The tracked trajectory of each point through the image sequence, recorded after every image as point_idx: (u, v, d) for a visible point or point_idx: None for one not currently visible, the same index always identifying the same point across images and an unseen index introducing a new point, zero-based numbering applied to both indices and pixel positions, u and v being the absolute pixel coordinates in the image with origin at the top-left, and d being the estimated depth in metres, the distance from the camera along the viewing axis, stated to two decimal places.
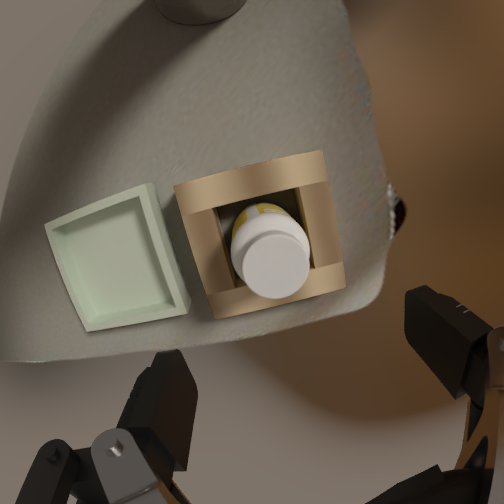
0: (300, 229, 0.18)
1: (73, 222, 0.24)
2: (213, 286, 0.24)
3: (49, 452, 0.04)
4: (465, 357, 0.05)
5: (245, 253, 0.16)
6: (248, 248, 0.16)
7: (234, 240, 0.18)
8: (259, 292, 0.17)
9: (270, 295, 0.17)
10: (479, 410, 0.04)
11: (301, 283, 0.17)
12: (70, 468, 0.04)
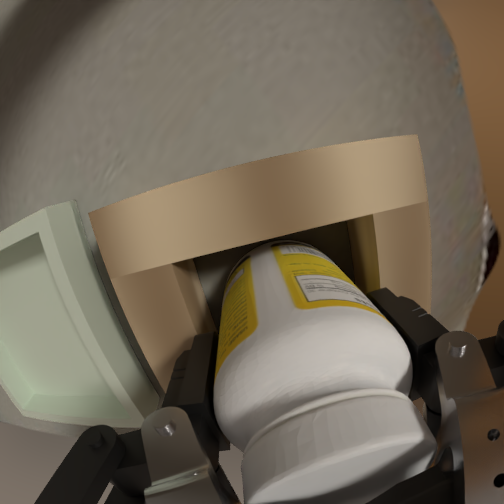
0: (405, 350, 0.06)
1: None
2: None
3: (93, 438, 0.05)
4: (416, 360, 0.06)
5: (257, 486, 0.03)
6: (268, 477, 0.03)
7: (221, 388, 0.06)
8: None
9: None
10: (437, 416, 0.05)
11: None
12: (117, 454, 0.05)
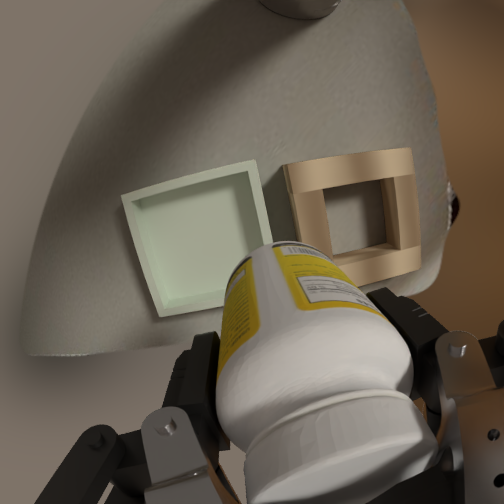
0: (406, 351, 0.06)
1: (154, 196, 0.25)
2: None
3: (93, 438, 0.05)
4: (416, 360, 0.06)
5: (260, 486, 0.03)
6: (271, 478, 0.03)
7: (223, 389, 0.06)
8: None
9: None
10: (437, 416, 0.05)
11: None
12: (117, 453, 0.05)
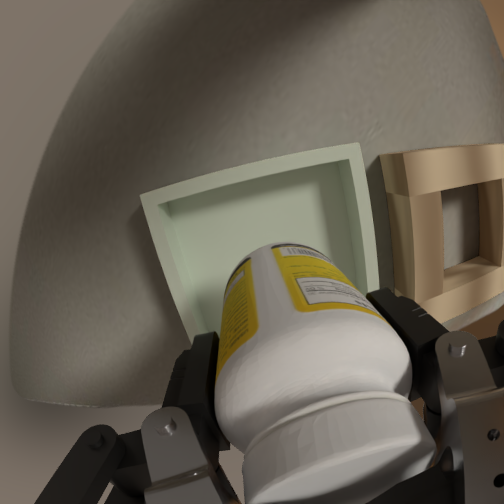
0: (405, 352, 0.06)
1: (193, 195, 0.16)
2: (424, 292, 0.16)
3: (93, 438, 0.05)
4: (415, 360, 0.06)
5: (257, 487, 0.03)
6: (268, 479, 0.03)
7: (222, 390, 0.06)
8: None
9: None
10: (437, 416, 0.05)
11: None
12: (117, 453, 0.05)
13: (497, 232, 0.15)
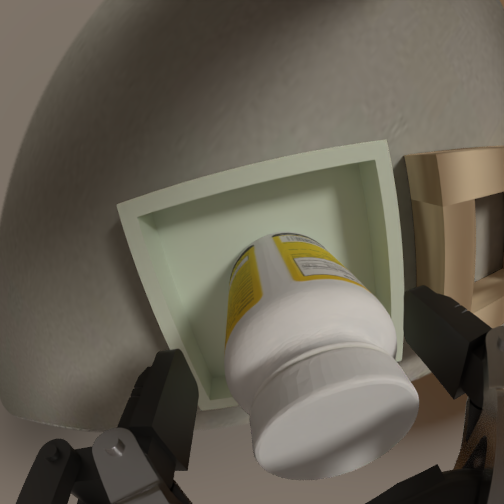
0: (388, 318, 0.07)
1: (183, 204, 0.13)
2: None
3: (50, 451, 0.04)
4: (464, 357, 0.05)
5: (264, 424, 0.05)
6: (273, 413, 0.05)
7: (232, 349, 0.07)
8: (294, 476, 0.05)
9: (317, 477, 0.05)
10: (478, 410, 0.05)
11: (388, 449, 0.05)
12: (71, 468, 0.04)
13: None
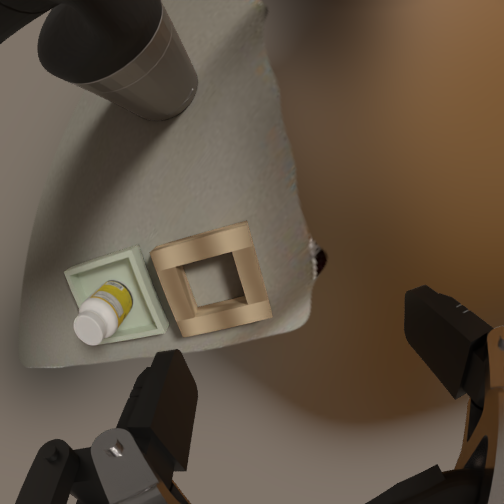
0: (106, 308, 0.29)
1: None
2: (180, 316, 0.34)
3: (49, 452, 0.04)
4: (465, 357, 0.05)
5: (74, 322, 0.27)
6: None
7: (79, 311, 0.29)
8: (84, 341, 0.27)
9: (89, 343, 0.27)
10: (479, 410, 0.04)
11: (100, 339, 0.27)
12: (70, 468, 0.04)
13: None
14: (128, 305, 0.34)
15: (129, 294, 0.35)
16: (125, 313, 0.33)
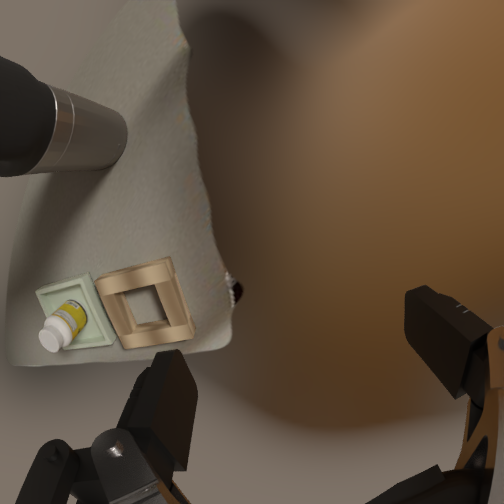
0: (62, 324, 0.33)
1: None
2: (120, 332, 0.39)
3: (49, 452, 0.04)
4: (465, 357, 0.05)
5: (39, 334, 0.31)
6: (39, 332, 0.31)
7: (44, 325, 0.34)
8: (47, 348, 0.32)
9: (50, 350, 0.32)
10: (479, 410, 0.04)
11: (57, 348, 0.32)
12: (70, 468, 0.04)
13: None
14: (82, 321, 0.39)
15: (83, 311, 0.39)
16: (79, 327, 0.37)
